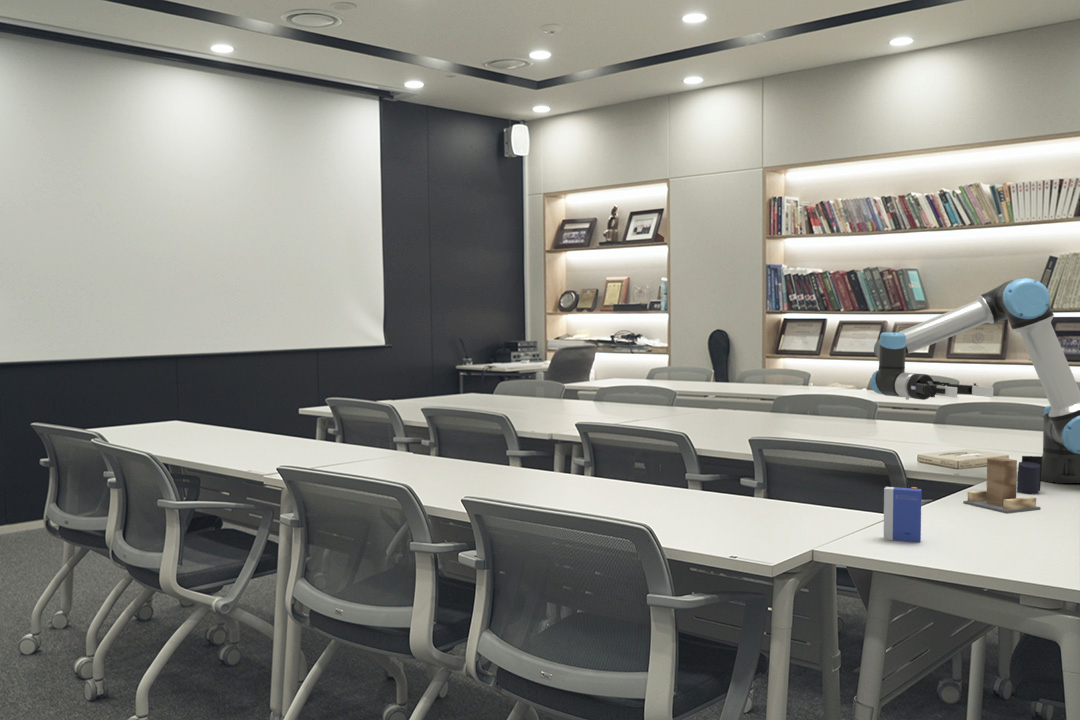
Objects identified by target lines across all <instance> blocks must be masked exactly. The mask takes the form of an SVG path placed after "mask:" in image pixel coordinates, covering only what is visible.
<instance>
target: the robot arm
mask: <svg viewBox="0 0 1080 720" xmlns="http://www.w3.org/2000/svg"><path fill="white" fill-rule="evenodd" d="M1050 304H1051V294H1050V292H1049V290H1048V288H1047V287H1046V286H1045V285H1044V284H1043V283H1042V282H1041V281H1038V280H1036V279H1033V278H1028V277H1025V278H1024V277H1023V278H1021V277H1020V278H1018V279H1013V280H1012V279H1011V280H1008V281H1005V282H1003V283H1001V284H1000V285H998V286H996V287H994V288H992V289H991V290H989V291H987V292H984V293H982V294H980V295H978V296H977V299H976V300H974V301H972V302H969V303H966V304H964V305H962V306H959V307H957V308H954V309H952V310H949V311H946V312H944V313H942V314H940V315H937V316H935V317H932V318H930V319H927V320H925V321H923V322H920V323H918V324H915V325H912V326H910V327H907V328H904V329H903V330H901V331H898V332H889V331H888V332H887V331H886V332H881V333H880V335H879V339H878V340H876V342H875V343H874V346H873V352H874V355H875V357H876V358H877V359H878V370H876V371H874V372H873V373H872V375H871V378H870V380H869V384H870V388H871V390H872V391H873V392H874V393H876V394H878V395H882V396H883V395H884V396H887V397H888V396H889V397H899V398H905V400H906V401H909V400H910V399H915V400H922V401H925V400H928V399H930V398H935V397H936V396H940V397H946V398H947V397H950V398H958V394H960V395H971V396H976V397H977V396H978V397H984V398H985V397H986V398H994V387H993V386H992V387H991V386H979V385H977V383H973V385H971V384H958V383H957V384H956V383H950V382H943V381H942V382H941V381H939V380H934V379H933V378H932V376H930V375H929V374H925V373H916V372H915V373H914V372H905V369H906V355H908V354H911V353H913V352H916V351H919V350H921V349H923V348H926V347H928V346H932V345H933V344H936V343H938V342H942V341H944V340H946V339H949V338H951V337H954V336H956V335H959V334H962V333H963V332H966V331H968V330H972V329H974V328H978V327H980V326H981V325H983V324H987V323H988V324H991V325H992V324H995V323H998V322H1001V321H1005V320H1007V321H1008V323H1009V325H1010V328H1011V330H1012V331H1015V332H1016V333H1019V334H1020V337H1021V340H1022V342H1023V344H1024V347H1025V349H1026V351H1027V353H1028V356H1029V358H1030V360H1031V363H1032V366H1033V367H1034V370H1035V372H1036V374H1037V377H1038V379H1039V382H1040V384H1041V386H1042V389H1043V391H1044V394H1045V396H1046V398H1047V401H1048V402H1049V405H1048V406H1045V408H1044V410H1043V415H1042V418H1043V427H1042V428H1043V429H1042V430H1043V431H1042V432H1043V436H1042V455H1041V456H1042V470H1041V481H1043V482H1047V481H1048V483H1053V482H1055V484H1063V483H1080V388H1079V386H1078V384H1077V381H1076V378H1075V376H1074V374H1073V372H1072V370H1071V367H1070V365H1069V362H1068V359H1067V358H1066V355H1065V353H1064V351H1063V348H1062V346H1061V343H1060V341H1059V338H1058V336H1057V334H1056V331H1055V330H1054V326H1053V325H1052V320H1053V318H1054V315H1055V314H1054V312H1053V310H1052V307H1051V305H1050Z"/></svg>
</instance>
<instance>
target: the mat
mask: <svg viewBox="0 0 1080 720" xmlns="http://www.w3.org/2000/svg"><path fill="white" fill-rule="evenodd" d="M962 501H963V502H962V503H963V504H964V503H965V505H969V504H970V506H974V507H977V508H981V509H986V510H991V511H994V512H995V511H996V512H1000V513H1004V514H1013V513H1014V514H1015V513H1020V512H1021V513H1022V512H1031V511H1039V510H1041V507H1040V506H1037V505H1036V507H1034V508H1025V509H1016V510H1004V509H1003V507H1002V506H997V505H993V504H988V503H986V502H987V501H978V502H969V501H968V500H962Z"/></svg>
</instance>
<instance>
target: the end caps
mask: <svg viewBox="0 0 1080 720" xmlns="http://www.w3.org/2000/svg"><path fill="white" fill-rule="evenodd" d="M967 501H969V502H978V501H987V489H985V490H984V489H983V490H976V491H975V490H973V491H967ZM1036 506H1037V497H1035V496H1034V497H1033V496H1027V497H1018V498H1017V497H1016V498H1015V499H1005V500H1003V509H1004V510H1016V509H1025V508H1034V507H1036Z"/></svg>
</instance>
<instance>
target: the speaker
mask: <svg viewBox="0 0 1080 720" xmlns="http://www.w3.org/2000/svg"><path fill="white" fill-rule="evenodd" d="M1017 469H1018V470H1017V482H1016V492H1017V491H1018V492H1019V493H1022V494H1028V495H1036V494H1039V492H1040V491H1041V484H1042V482H1041V481H1042V480H1041V470H1042V455H1041V456H1040V455H1038V456H1037V455H1034V456H1031V455H1022V456H1021V461H1019V462H1018V463H1017Z"/></svg>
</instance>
